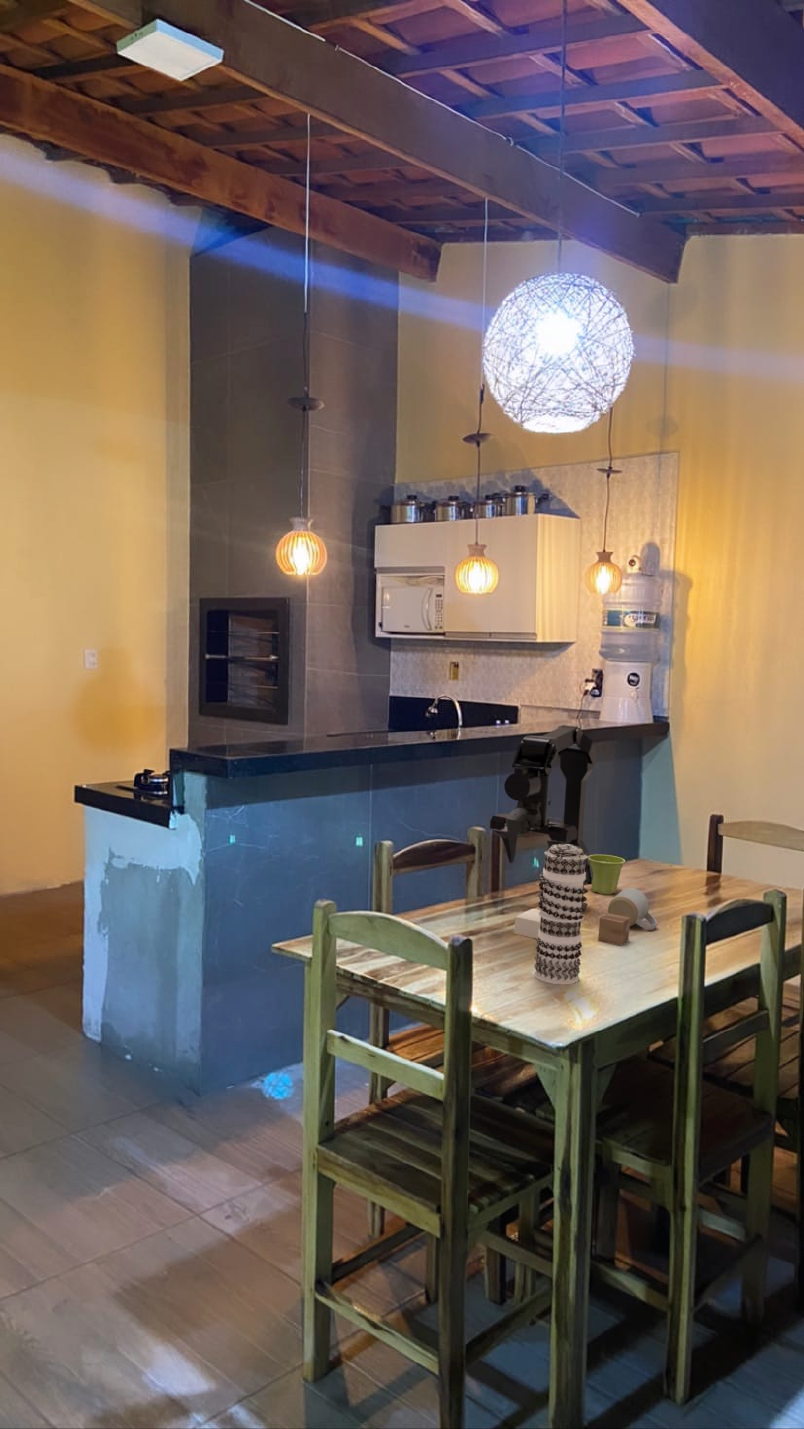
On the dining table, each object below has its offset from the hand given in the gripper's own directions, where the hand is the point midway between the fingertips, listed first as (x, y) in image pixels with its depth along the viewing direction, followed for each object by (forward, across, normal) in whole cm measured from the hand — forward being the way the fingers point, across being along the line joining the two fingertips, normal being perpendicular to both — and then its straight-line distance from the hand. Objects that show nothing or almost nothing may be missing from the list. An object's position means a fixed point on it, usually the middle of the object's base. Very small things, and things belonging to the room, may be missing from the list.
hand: (529, 866), depth 220 cm
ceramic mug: (+15, +14, +24) cm, 32 cm away
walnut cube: (+15, +16, +9) cm, 24 cm away
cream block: (+15, +3, +2) cm, 15 cm away
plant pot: (+15, -4, +48) cm, 50 cm away
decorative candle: (+14, +19, -22) cm, 32 cm away
